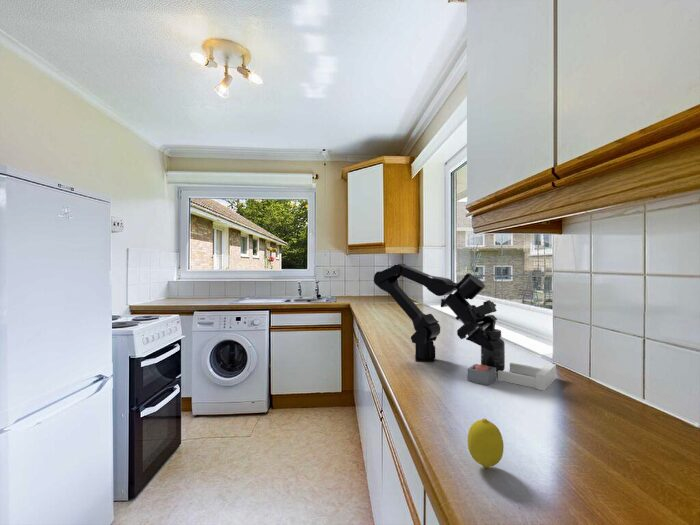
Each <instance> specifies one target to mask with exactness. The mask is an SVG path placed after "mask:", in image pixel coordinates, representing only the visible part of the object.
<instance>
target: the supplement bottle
mask: <svg viewBox="0 0 700 525" xmlns="http://www.w3.org/2000/svg"><path fill="white" fill-rule="evenodd" d="M484 335H485V336H486V338H487V339H488V341H489V342H490V343H491V345H492V347H493V348H494V350H493V351H489V350H488V349H486V348H484V347H482V346H480V365H486V366H489V367H495V368H496V373H498V371H499V370H500V371H505V367H506V364H505V362H506V359H505V358H506V355H505V354H506V350H505V347H506V346H505V340H504V339H502V330H500V329H497V328H495V329H485V330H484Z"/></svg>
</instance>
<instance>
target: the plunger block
mask: <svg viewBox="0 0 700 525" xmlns="http://www.w3.org/2000/svg"><path fill="white" fill-rule="evenodd" d="M475 365H479V363H474V364H473V365H471V366H469V367H467V369H466V370H467V372H466V376H467V382H471V383H476V384H479V385H480V384H481V385H485V386H490V385H491V384H493V383H495V382H496V381H497V372H496V368H495V367H489V366H488V371H481V370H476V369H475Z"/></svg>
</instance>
